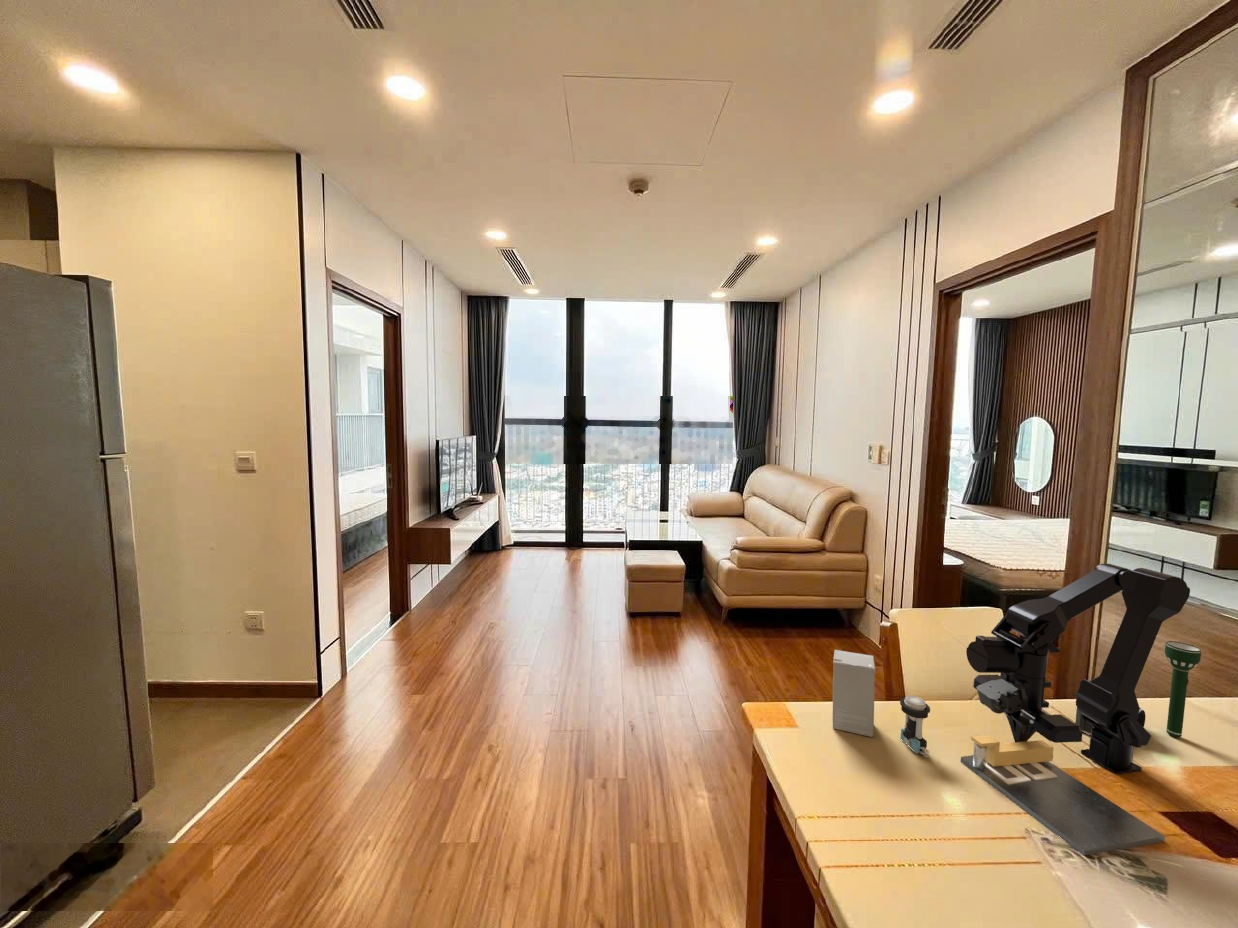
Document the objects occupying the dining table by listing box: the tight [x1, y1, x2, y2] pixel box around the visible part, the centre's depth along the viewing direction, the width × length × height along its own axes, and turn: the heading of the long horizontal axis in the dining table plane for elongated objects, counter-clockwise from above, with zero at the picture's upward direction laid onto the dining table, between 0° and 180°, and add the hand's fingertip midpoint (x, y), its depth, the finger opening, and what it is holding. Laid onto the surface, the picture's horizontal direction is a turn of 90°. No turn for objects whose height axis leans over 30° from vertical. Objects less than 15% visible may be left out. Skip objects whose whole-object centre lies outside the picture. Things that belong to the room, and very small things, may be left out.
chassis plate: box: [960, 754, 1166, 857], centre depth 88 cm, size 16×22×1 cm
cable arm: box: [970, 734, 1054, 767], centre depth 96 cm, size 16×2×5 cm, turn 98°
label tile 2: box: [986, 761, 1031, 784], centre depth 94 cm, size 5×6×1 cm
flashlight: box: [1164, 640, 1202, 738], centre depth 107 cm, size 5×5×20 cm
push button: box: [899, 695, 931, 758], centre depth 101 cm, size 7×5×10 cm
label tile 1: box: [1014, 762, 1057, 780], centre depth 95 cm, size 5×6×1 cm
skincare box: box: [832, 649, 876, 738], centre depth 108 cm, size 8×7×16 cm
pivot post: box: [972, 741, 987, 770], centre depth 95 cm, size 2×2×5 cm
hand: (1019, 745), depth 98 cm, fingers closed
